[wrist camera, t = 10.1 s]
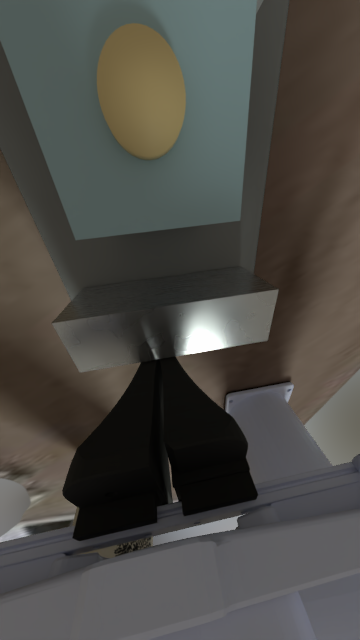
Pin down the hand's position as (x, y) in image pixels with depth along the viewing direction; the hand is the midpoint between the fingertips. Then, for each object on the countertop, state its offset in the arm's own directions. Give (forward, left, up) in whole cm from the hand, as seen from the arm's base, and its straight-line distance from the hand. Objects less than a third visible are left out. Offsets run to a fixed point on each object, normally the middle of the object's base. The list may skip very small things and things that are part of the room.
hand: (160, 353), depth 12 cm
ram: (+3, -1, -2) cm, 4 cm away
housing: (+10, -1, -2) cm, 10 cm away
